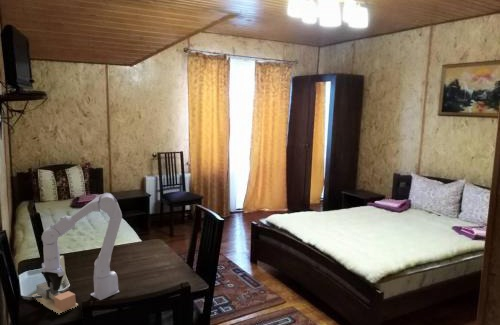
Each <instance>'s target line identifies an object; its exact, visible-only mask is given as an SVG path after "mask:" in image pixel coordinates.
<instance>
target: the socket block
mask: <svg viewBox="0 0 500 325" xmlns="http://www.w3.org/2000/svg"><path fill="white" fill-rule="evenodd" d="M76 300H77V299H76V294H75V293H74V292H71V291H70V290H68V291H64V292H62V293H61V294H59V295H57V296H54V302H55V308H57V309H58V310H60V311H63V310H65V309H68V308H70V307H72V306H75V305H76V303H77V301H76Z"/></svg>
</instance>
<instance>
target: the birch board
mask: <svg viewBox="0 0 500 325" xmlns="http://www.w3.org/2000/svg"><path fill="white" fill-rule="evenodd" d="M31 296H37V293H34V294H31ZM36 300H37V301H36ZM36 300H35V301H36V302H38V303H39V302H40V304H41V305H42V304H43V306H44V307H45V308H47V309H49V310H51V311H52V310H53V313H55V312H56V314H57V313H58V314H57V315H61V314H60V313H62V312H64V313H66V312H68V311H67V310H69V309H71V310H73V309H75V307H76V308H77V306H78V307H79V303H77V302H76V305H75V306H72V307H70V308H68V309H65V310H63V311H60V310H58V309H57V308H55V302H54V300H52V299H51V298H50V299H47V300H46V299H44V298H36ZM72 308H73V309H72ZM65 311H66V312H65ZM69 311H70V310H69ZM62 314H63V313H62Z"/></svg>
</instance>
